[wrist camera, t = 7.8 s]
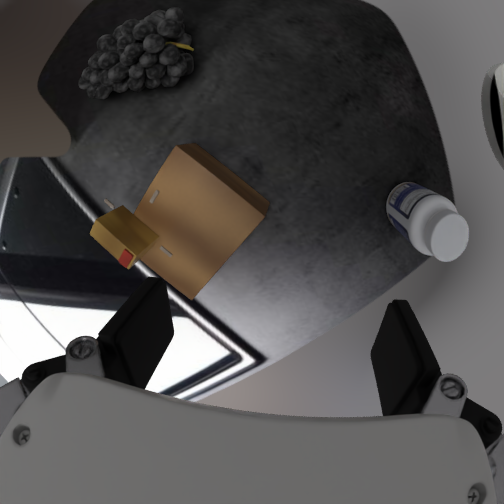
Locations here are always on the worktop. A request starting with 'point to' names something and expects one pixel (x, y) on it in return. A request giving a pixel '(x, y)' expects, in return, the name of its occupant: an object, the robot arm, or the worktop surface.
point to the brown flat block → (196, 217)
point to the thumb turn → (123, 236)
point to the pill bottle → (427, 221)
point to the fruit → (140, 56)
